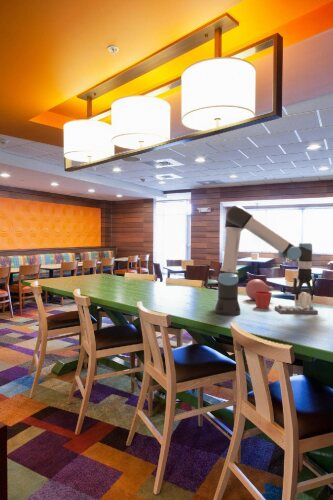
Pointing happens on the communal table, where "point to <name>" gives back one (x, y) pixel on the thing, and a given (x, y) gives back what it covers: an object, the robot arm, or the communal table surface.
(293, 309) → the console
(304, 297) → the fader tab
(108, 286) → the communal table surface
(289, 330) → the communal table surface
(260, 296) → the flower pot
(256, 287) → the balloon
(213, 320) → the communal table surface
